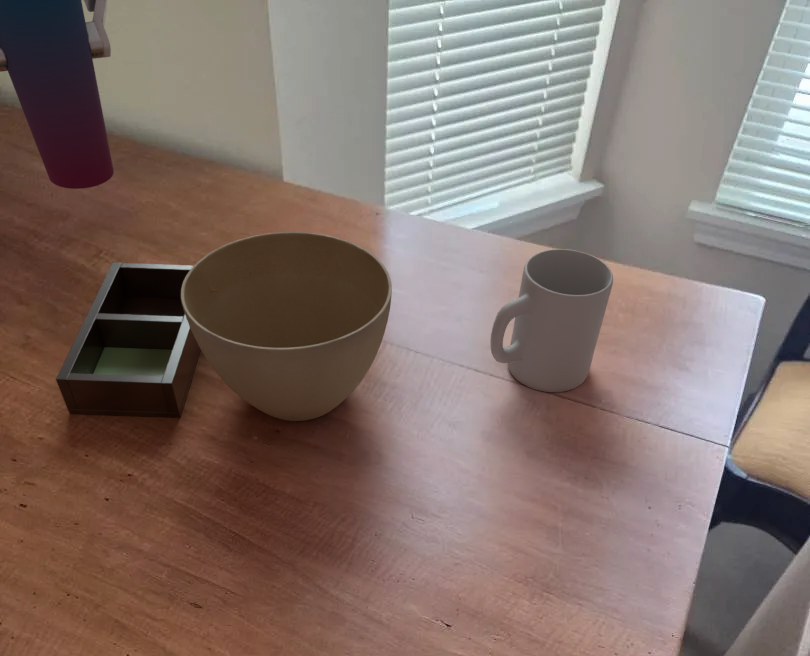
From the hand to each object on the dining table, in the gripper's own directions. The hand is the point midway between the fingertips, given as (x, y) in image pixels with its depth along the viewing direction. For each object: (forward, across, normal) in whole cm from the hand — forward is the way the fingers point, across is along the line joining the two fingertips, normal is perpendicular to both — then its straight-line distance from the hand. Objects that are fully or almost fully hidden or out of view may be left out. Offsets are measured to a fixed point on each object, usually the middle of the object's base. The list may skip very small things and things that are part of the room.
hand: (49, 60), depth 54 cm
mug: (+33, -36, -7) cm, 49 cm away
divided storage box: (+18, -2, -22) cm, 28 cm away
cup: (+6, 0, -6) cm, 9 cm away
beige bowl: (+27, -13, -12) cm, 32 cm away
